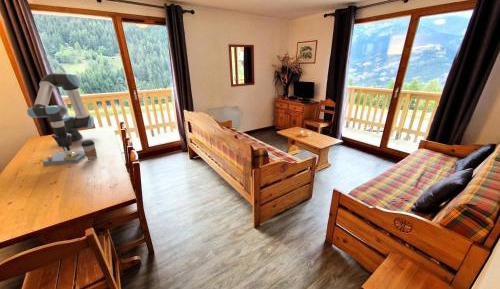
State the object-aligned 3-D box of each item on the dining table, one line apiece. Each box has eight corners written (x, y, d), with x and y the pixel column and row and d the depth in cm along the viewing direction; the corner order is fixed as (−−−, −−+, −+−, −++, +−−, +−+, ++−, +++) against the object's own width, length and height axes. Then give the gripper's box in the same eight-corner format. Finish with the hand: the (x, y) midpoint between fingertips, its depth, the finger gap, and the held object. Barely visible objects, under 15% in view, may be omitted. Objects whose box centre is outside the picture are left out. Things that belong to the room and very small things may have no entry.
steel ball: (75, 155, 171) (70, 153, 169) (76, 152, 170) (72, 150, 169) (72, 157, 168) (68, 155, 167) (74, 154, 167) (70, 152, 166)
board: (58, 155, 175) (57, 152, 174) (89, 153, 179) (89, 150, 178) (43, 164, 160) (42, 161, 159) (78, 162, 163) (77, 159, 162)
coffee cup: (92, 161, 165) (86, 144, 159) (83, 160, 166) (77, 143, 160) (101, 157, 172) (96, 140, 166) (92, 156, 174) (87, 139, 168)
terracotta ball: (49, 159, 163) (48, 155, 162) (54, 159, 163) (52, 155, 162) (46, 161, 160) (45, 157, 159) (51, 160, 161) (49, 157, 159)
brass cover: (69, 157, 166) (67, 153, 164) (77, 157, 166) (76, 152, 165) (64, 160, 160) (62, 156, 159) (73, 160, 161) (71, 155, 159)
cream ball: (68, 152, 175) (66, 149, 174) (72, 152, 175) (71, 148, 174) (65, 154, 172) (64, 150, 171) (69, 153, 172) (68, 150, 171)
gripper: (45, 128, 155) (56, 156, 164) (64, 127, 156) (74, 155, 165) (52, 125, 162) (62, 152, 171) (71, 124, 163) (80, 151, 172)
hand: (68, 154), depth 168 cm, fingers closed
